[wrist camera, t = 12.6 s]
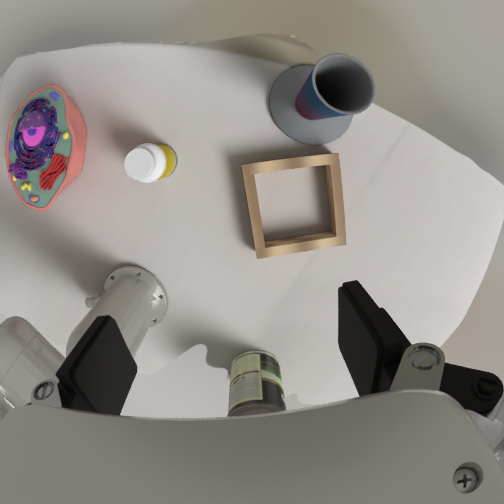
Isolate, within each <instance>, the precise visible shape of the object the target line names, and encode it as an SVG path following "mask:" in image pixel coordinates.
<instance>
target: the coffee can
mask: <svg viewBox="0 0 504 504" xmlns="http://www.w3.org/2000/svg"><path fill="white" fill-rule="evenodd" d="M280 411H286V406H285V398H284V392H283V385H282V378H281V371H280V363H279V361H278V359H277V358H276V357H275V356H274V355H272V354H270V353H268V352H265V351H259V350H253V351H248V352H244V353H242V354H240V355H238V356H237V357H236V358H235V359H234V360H233V362H232V364H231V377H230V392H229V412H228V416H227V417H233V416H245V415H256V414H265V413H273V412H280Z"/></svg>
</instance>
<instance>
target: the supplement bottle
mask: <svg viewBox="0 0 504 504" xmlns="http://www.w3.org/2000/svg"><path fill="white" fill-rule="evenodd" d="M177 163H178V158H177V155H176V152H175V151H174V149H173V148H171V147H170V146H168V145H165V144H155V143H144V144H141V145H139V146H137V147H136V148H135V149H133V150H131V151H130V152H129V153H128V154H127V156H126V158H125V161H124V168H125V171H126V173H127V175H128V176H129V177H131V178H132V179H135V180H137V181H139V182H142V183H150V182H153V181H157V180H160V179H163V178H166V177H168V176H170V175H171V174H172V173H173V172H174V171H175V169H176V167H177Z"/></svg>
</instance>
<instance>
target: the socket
mask: <svg viewBox="0 0 504 504" xmlns="http://www.w3.org/2000/svg"><path fill="white" fill-rule="evenodd" d="M320 165H325V173H326V181H327V191H328V201H329V212H330V224H331V232H324V233H317V234H311V235H304V236H298V237H291V238H285V239H278V240H272V241H266V242H264V235H263V229H262V222H261V216H260V210H259V203H258V197H257V191H256V184H255V178H254V174H258V173H265V172H271V171H279V170H286V169H294V168H302V167H311V166H320ZM241 166H242V172H243V178H244V184H245V190H246V196H247V202H248V208H249V214H250V220H251V226H252V232H253V238H254V244H255V250H256V256H257V259H259V258H266V257H272V256H278V255H285V254H291V253H297V252H304V251H310V250H316V249H322V248H329V247H335V246H341V245H346V232H345V216H344V202H343V191H342V180H341V171H340V162H339V154H338V153H329V154H318V155H308V156H299V157H291V158H283V159H276V160H268V161H261V162H255V163H248V164H242V165H241Z"/></svg>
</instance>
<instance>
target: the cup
mask: <svg viewBox="0 0 504 504" xmlns="http://www.w3.org/2000/svg"><path fill="white" fill-rule="evenodd" d="M374 95H375V83H374V80H373V78H372V75H371V73H370V71H369V70H368V68H367V67H365V65H364V64H363V63H362V62H360V61H359V60H358V59H356V58H354V57H352V56H349V55H346V54H341V53H334V54H329V55H327V56H324V57H323V58H321V59H320V60H319V61H318V62H317V63H316V65H315V66H314V68H313V69H312V71H311V73H310V75H309V76H308V78H307V80H306V81H305V83H304V85H303V87H302V88H301V90H300V92H299V94H298V95H297V97H296V100H295V106H296V110H297V111H298V113H299V114H300V115H301V116H302V117H303V118H305V119H308V120H319V119H325V118H332V117H338V116H346V115H353V114H358V113H361V112H363V111H364V110H366V109H367V108H368V107H369V106H370V105H371V103H372V102H373V99H374Z"/></svg>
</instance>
